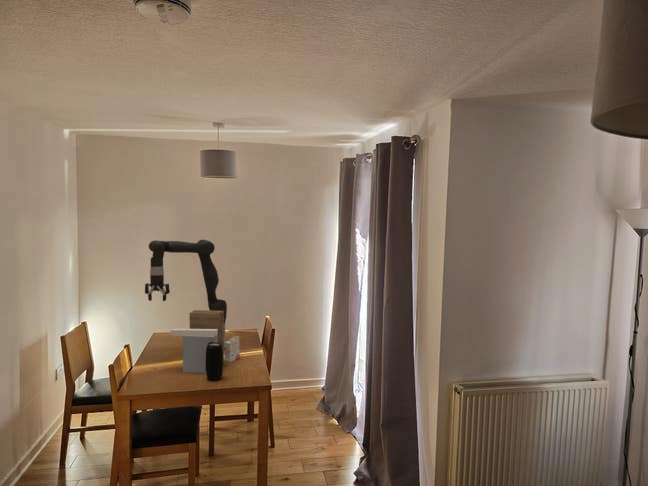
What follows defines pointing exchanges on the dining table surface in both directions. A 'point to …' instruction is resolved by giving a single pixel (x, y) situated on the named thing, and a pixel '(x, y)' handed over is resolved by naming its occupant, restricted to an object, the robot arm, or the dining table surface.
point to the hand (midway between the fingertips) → (157, 300)
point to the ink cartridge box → (232, 349)
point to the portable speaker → (214, 361)
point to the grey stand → (196, 353)
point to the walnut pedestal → (209, 322)
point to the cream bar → (194, 332)
